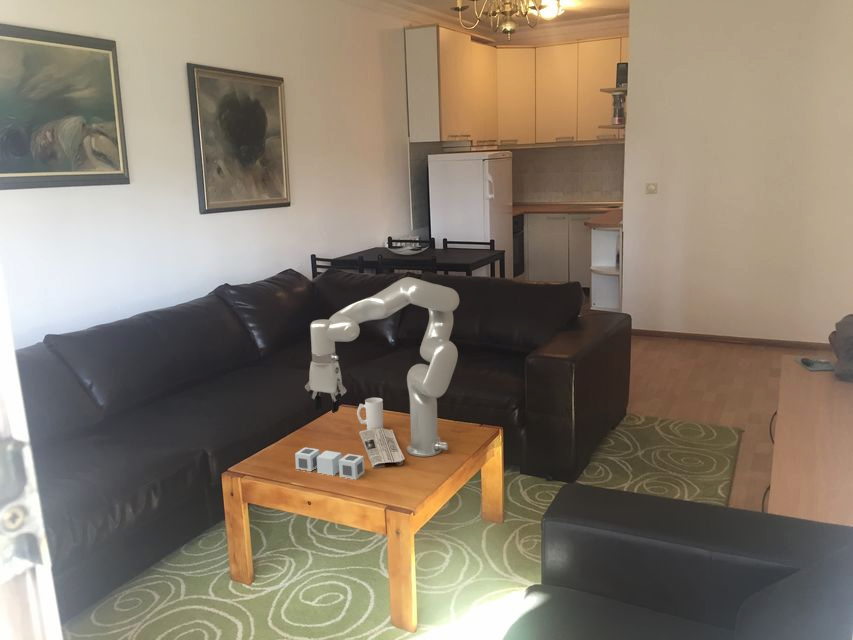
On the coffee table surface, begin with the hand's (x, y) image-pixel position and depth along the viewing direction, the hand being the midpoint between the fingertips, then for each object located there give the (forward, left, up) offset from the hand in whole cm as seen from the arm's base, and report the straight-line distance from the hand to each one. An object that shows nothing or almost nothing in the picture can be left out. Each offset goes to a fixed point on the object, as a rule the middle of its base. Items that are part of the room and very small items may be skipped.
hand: (326, 410), depth 243 cm
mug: (+5, -40, -22) cm, 46 cm away
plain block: (0, 0, -22) cm, 22 cm away
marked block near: (-9, 0, -22) cm, 23 cm away
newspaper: (-8, -24, -22) cm, 33 cm away
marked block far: (+8, 0, -22) cm, 23 cm away
